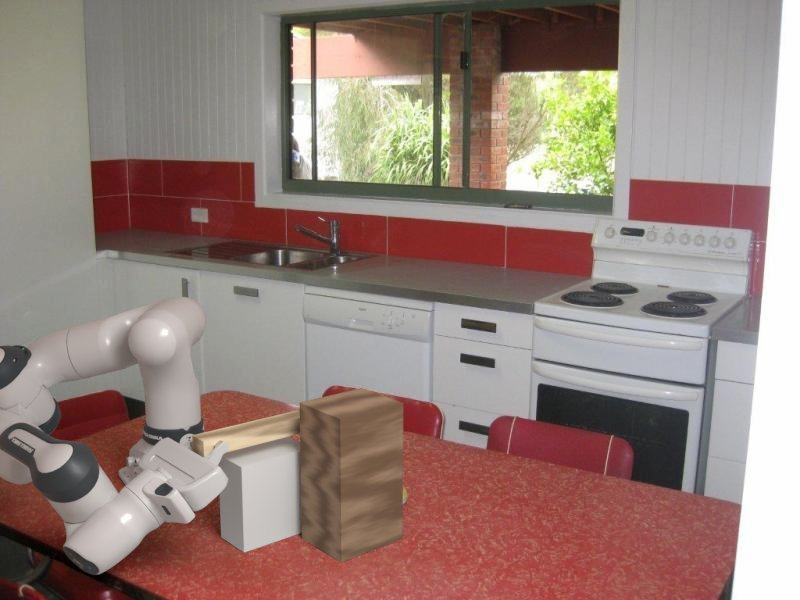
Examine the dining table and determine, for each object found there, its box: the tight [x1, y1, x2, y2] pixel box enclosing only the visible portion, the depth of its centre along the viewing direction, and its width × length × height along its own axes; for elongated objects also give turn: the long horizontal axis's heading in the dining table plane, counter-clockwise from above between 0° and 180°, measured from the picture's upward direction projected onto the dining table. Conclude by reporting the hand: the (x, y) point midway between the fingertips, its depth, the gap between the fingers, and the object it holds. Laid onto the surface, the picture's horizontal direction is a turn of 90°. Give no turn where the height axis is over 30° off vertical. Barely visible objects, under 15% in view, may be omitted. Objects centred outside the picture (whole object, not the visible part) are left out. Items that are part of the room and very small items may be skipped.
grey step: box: [218, 436, 302, 553], centre depth 170 cm, size 8×15×16 cm, turn 131°
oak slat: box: [192, 409, 300, 458], centre depth 166 cm, size 4×22×3 cm, turn 131°
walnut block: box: [299, 387, 404, 563], centre depth 167 cm, size 12×14×26 cm
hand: (217, 439), depth 161 cm, fingers closed on oak slat, 4 cm apart
